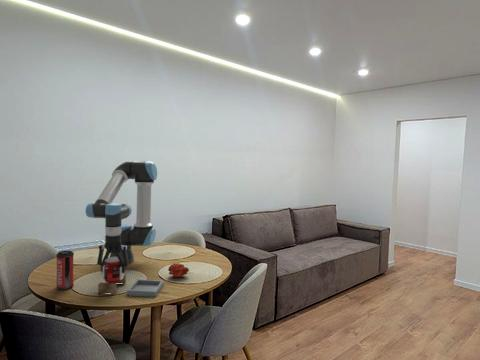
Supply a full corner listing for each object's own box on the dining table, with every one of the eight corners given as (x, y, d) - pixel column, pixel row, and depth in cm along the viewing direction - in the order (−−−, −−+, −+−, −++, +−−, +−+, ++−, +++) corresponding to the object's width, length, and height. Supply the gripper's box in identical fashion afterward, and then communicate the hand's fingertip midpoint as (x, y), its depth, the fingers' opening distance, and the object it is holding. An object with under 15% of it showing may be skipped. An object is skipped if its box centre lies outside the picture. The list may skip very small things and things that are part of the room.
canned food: (107, 277, 160) (107, 256, 159) (123, 277, 160) (123, 256, 159) (102, 283, 152) (102, 261, 151) (118, 283, 153) (119, 261, 152)
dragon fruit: (166, 278, 176) (187, 281, 176) (165, 274, 169) (187, 278, 169) (170, 264, 180) (190, 267, 181) (169, 259, 173) (190, 262, 174)
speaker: (77, 285, 159) (77, 250, 158) (65, 291, 151) (65, 255, 150) (64, 283, 160) (64, 249, 159) (52, 289, 153) (52, 253, 152)
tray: (126, 295, 149) (126, 290, 149) (137, 284, 163) (137, 279, 163) (155, 296, 148) (155, 291, 148) (163, 285, 162) (163, 280, 162)
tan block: (98, 294, 149) (98, 284, 149) (111, 282, 163) (111, 273, 163) (114, 294, 149) (114, 284, 149) (126, 283, 163) (126, 274, 163)
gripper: (89, 235, 151) (89, 280, 153) (131, 237, 150) (130, 282, 152) (96, 231, 158) (96, 274, 160) (136, 233, 158) (136, 276, 160)
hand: (113, 278), depth 156 cm, fingers closed on canned food, 8 cm apart
